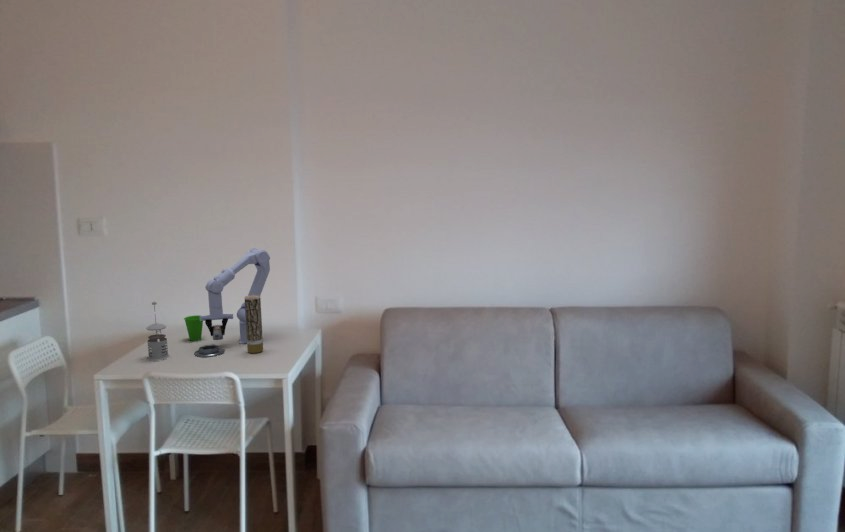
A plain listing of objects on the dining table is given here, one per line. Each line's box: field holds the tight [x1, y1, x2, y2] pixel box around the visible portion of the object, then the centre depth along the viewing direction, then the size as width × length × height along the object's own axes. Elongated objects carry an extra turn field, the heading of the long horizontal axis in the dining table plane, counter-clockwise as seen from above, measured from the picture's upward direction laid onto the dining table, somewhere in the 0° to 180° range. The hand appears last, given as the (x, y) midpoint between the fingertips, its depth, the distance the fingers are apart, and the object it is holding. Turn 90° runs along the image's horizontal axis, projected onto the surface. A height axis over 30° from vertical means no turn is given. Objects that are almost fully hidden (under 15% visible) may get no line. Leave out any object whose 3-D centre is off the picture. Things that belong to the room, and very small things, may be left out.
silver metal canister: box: [212, 324, 224, 341], centre depth 292 cm, size 5×5×6 cm
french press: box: [145, 301, 171, 362], centre depth 276 cm, size 10×12×25 cm
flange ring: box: [193, 344, 226, 358], centre depth 284 cm, size 13×13×2 cm
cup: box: [183, 314, 204, 342], centre depth 305 cm, size 9×9×11 cm
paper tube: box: [244, 295, 264, 354], centre depth 283 cm, size 7×7×25 cm
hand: (217, 335), depth 292 cm, fingers closed on silver metal canister, 5 cm apart
